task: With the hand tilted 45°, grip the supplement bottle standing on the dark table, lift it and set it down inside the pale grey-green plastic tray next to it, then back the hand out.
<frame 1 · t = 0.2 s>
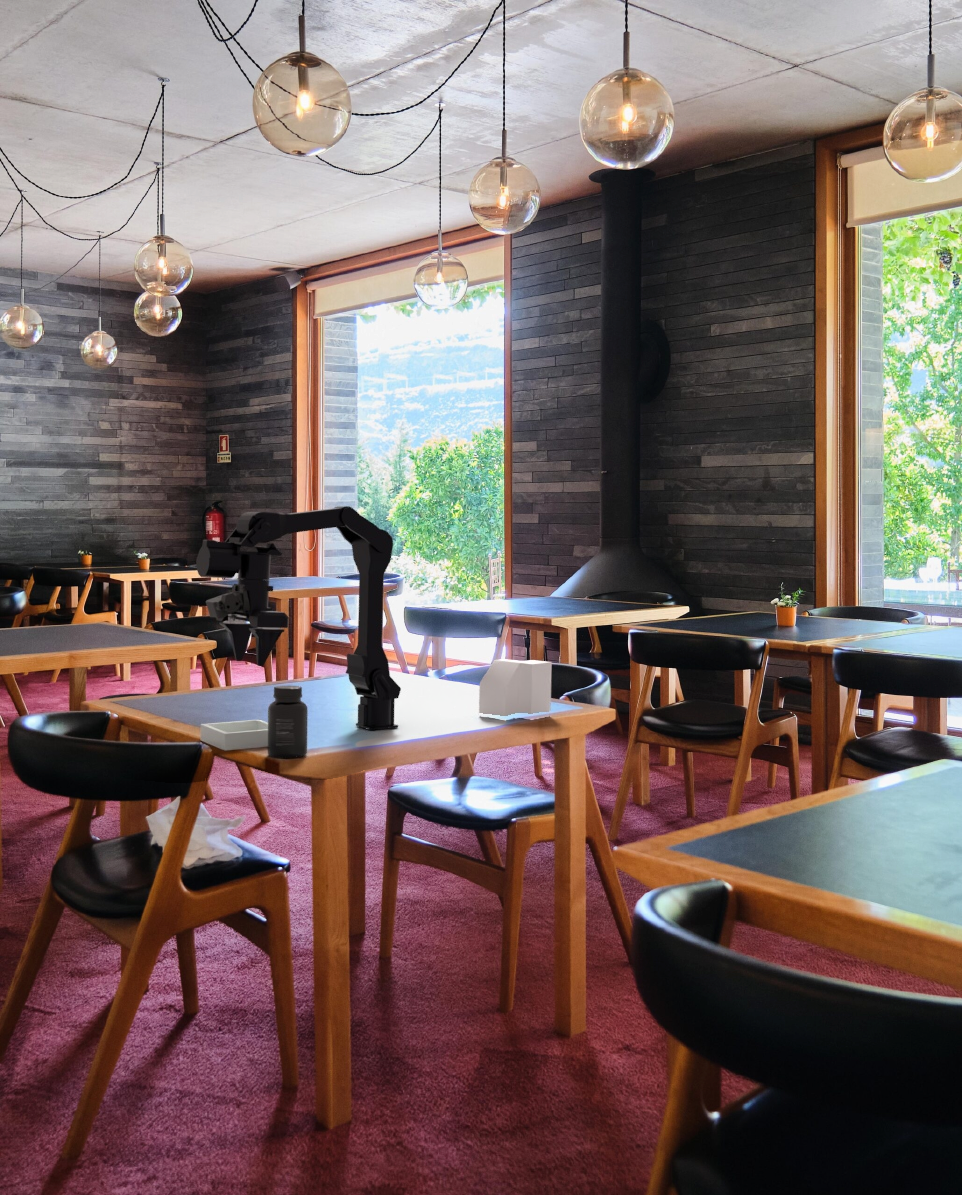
hand: (249, 663, 211), 14 cm above the table, fingers open, 9 cm apart
tray: (242, 742, 209), on the table
white chamfered block: (514, 717, 245), on the table
supplement bottle: (287, 756, 198), on the table
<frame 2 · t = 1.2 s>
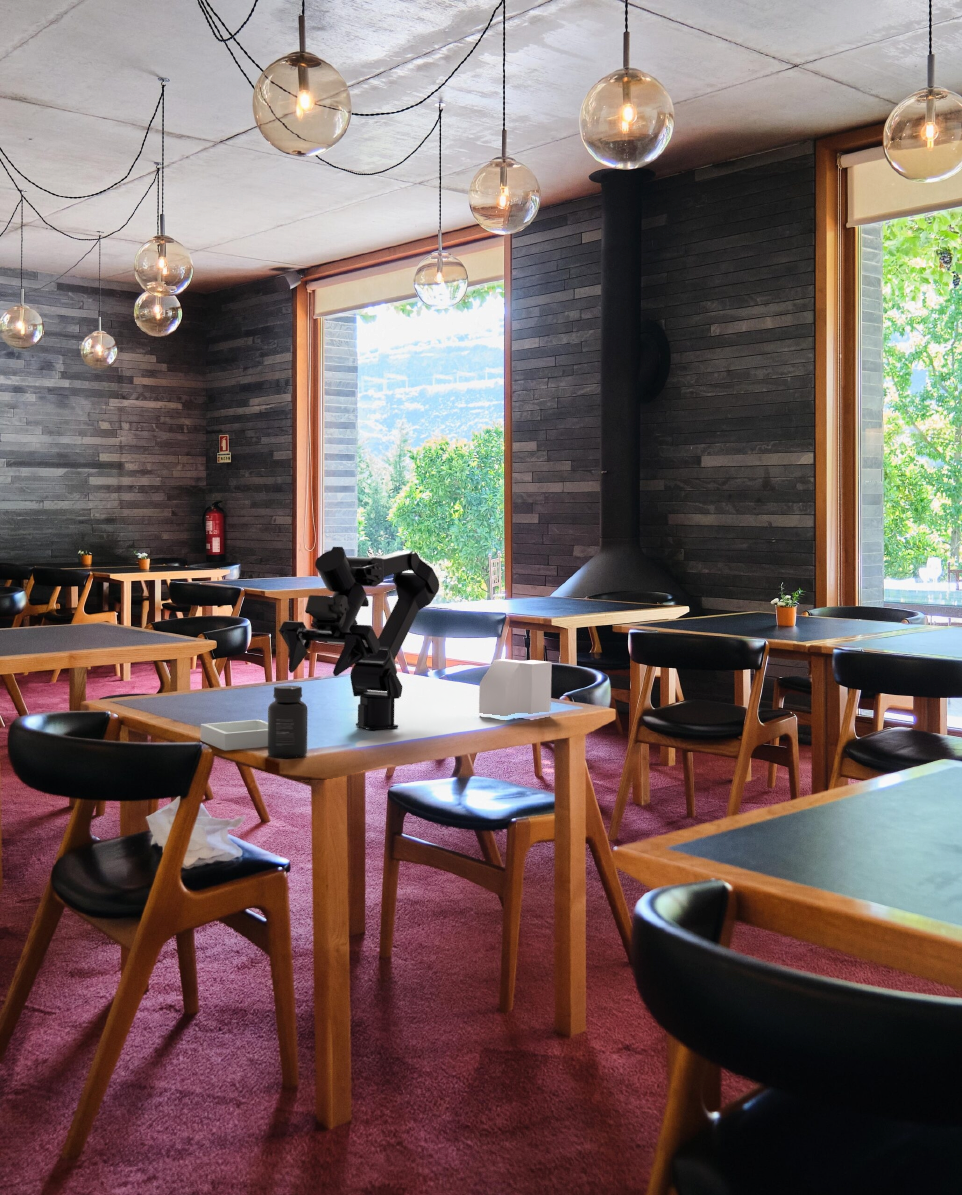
hand: (312, 673, 204), 14 cm above the table, fingers open, 9 cm apart
nothing on the table moved.
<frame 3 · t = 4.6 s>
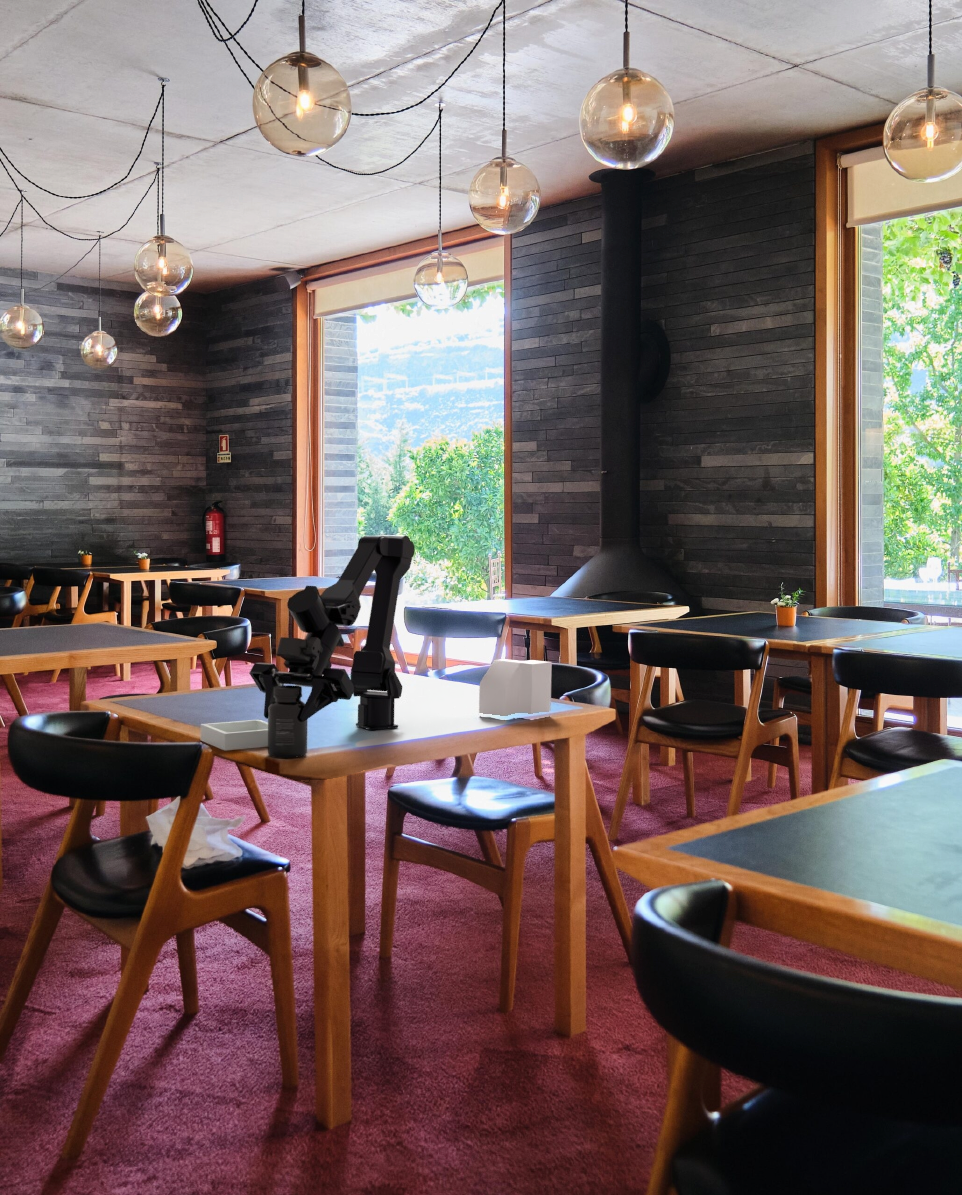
hand: (283, 718, 196), 7 cm above the table, fingers closed on supplement bottle, 7 cm apart
supplement bottle: (287, 756, 198), on the table, touching gripper
everything else where it was.
when the fingers open (9 cm above the table, at t = 9.4 s): supplement bottle drops 1 cm, resting on tray.
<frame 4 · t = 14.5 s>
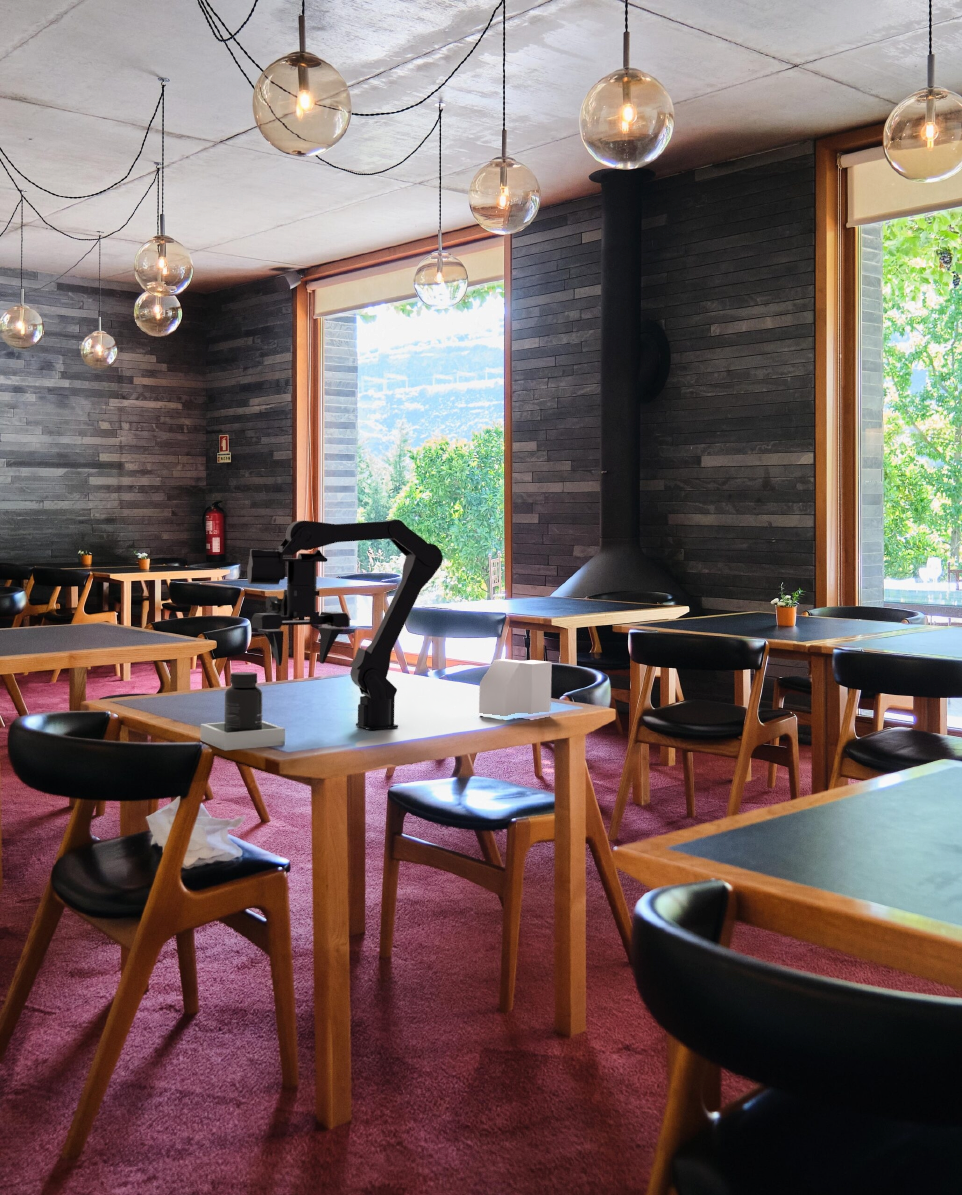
hand: (300, 664, 222), 13 cm above the table, fingers open, 9 cm apart
supplement bottle: (243, 739, 209), point 1 cm above the table, touching tray
everything else where it was.
at the end: supplement bottle 0.2 cm off-centre on the tray, point 0.6 cm above the tray's base; supplement bottle tilted 0°; the gripper is holding nothing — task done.
